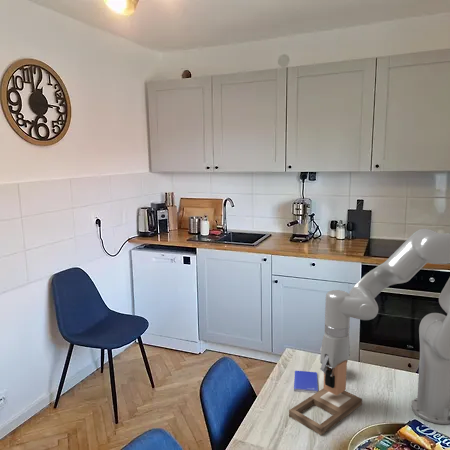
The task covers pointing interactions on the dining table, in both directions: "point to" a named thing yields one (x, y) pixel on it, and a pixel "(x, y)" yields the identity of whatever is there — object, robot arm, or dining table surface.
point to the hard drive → (305, 382)
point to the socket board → (326, 409)
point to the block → (338, 379)
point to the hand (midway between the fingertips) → (334, 382)
